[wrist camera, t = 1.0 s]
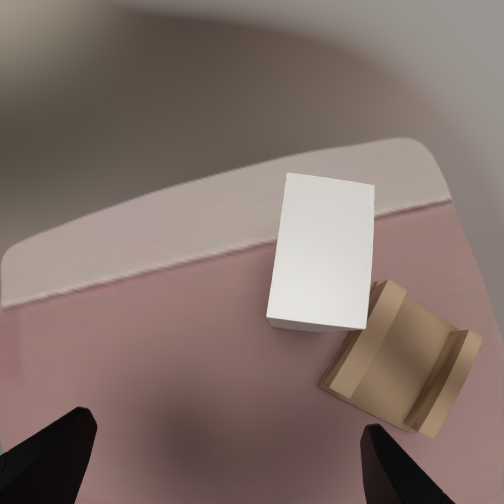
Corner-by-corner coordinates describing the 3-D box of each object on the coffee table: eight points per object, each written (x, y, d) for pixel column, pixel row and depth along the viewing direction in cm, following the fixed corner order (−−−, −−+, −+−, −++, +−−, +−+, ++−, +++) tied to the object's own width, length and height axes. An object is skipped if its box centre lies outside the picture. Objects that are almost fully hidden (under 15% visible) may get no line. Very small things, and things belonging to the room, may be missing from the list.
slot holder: (410, 432, 20) (429, 444, 16) (317, 385, 22) (324, 394, 18) (460, 334, 21) (485, 332, 18) (375, 282, 23) (391, 272, 20)
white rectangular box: (322, 333, 23) (365, 328, 11) (271, 326, 23) (265, 316, 12) (331, 255, 24) (374, 185, 13) (282, 249, 25) (286, 172, 13)
